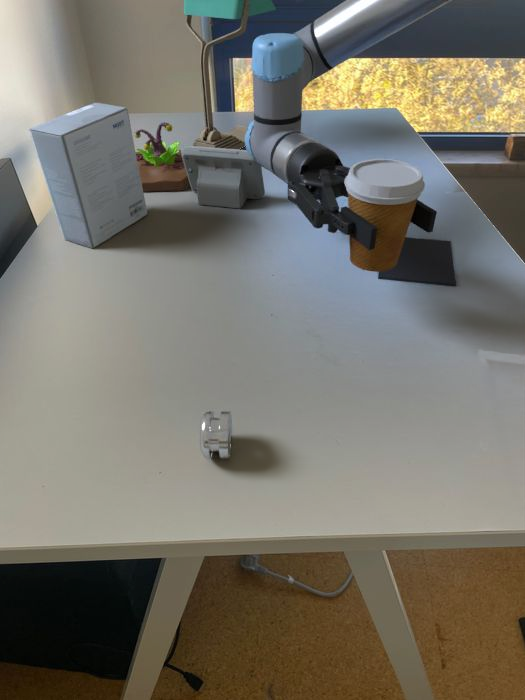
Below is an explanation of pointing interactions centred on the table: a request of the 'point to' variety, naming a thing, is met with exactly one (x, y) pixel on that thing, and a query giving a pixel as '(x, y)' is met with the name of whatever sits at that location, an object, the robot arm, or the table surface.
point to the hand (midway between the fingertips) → (403, 230)
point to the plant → (161, 164)
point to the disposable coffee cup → (383, 208)
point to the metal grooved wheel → (216, 434)
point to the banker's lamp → (218, 3)
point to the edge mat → (423, 262)
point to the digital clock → (223, 175)
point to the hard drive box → (91, 172)
